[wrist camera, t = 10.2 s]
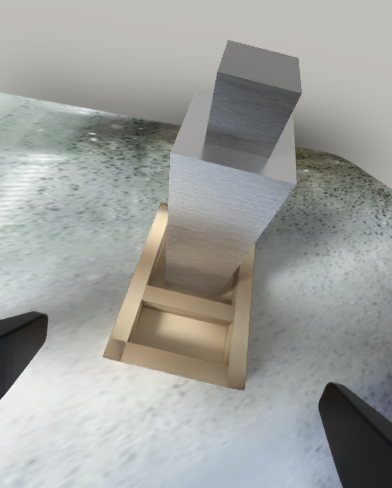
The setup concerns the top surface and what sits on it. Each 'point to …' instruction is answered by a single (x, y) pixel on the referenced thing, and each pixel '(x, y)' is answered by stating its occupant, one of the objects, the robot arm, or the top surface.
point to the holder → (183, 320)
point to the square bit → (231, 166)
